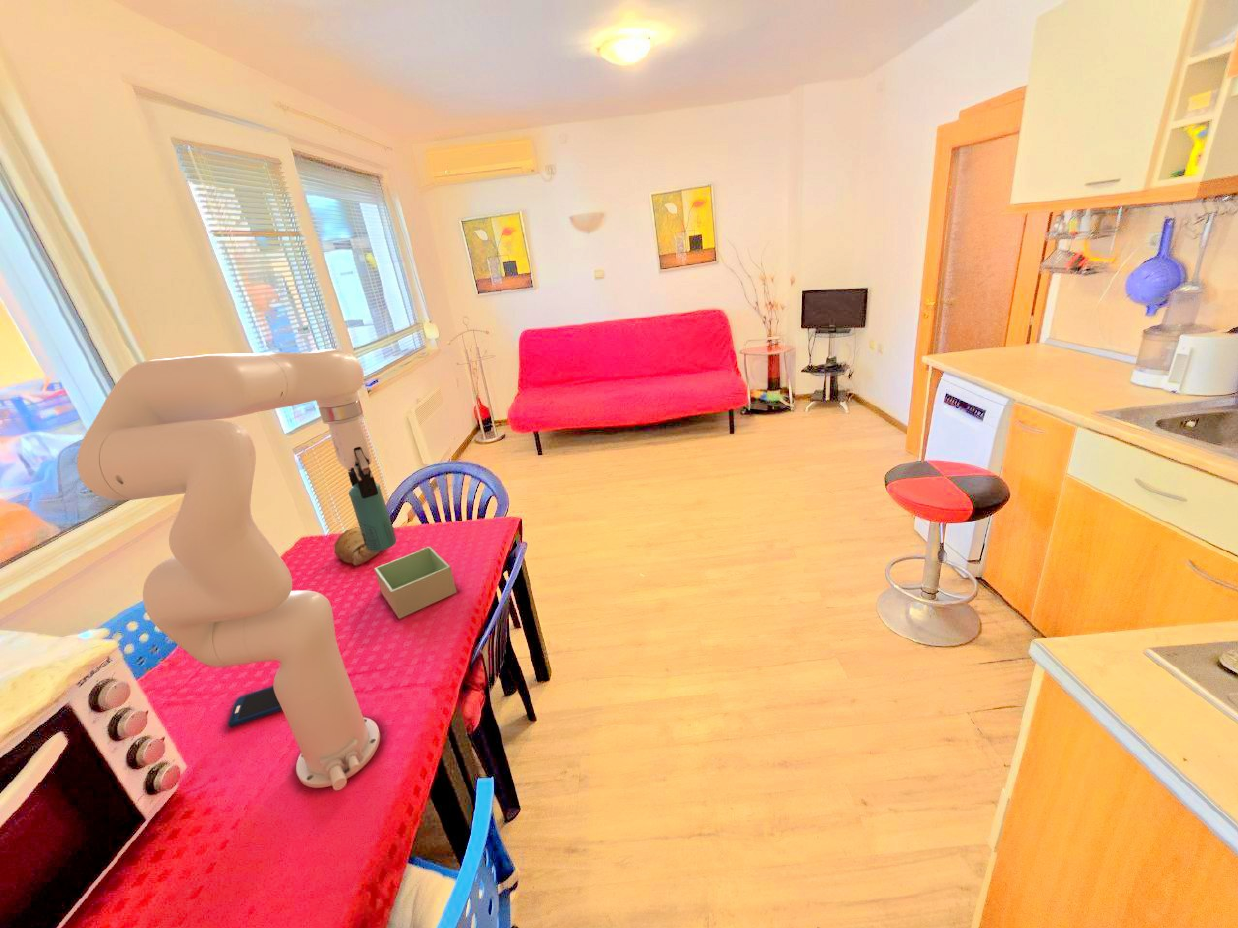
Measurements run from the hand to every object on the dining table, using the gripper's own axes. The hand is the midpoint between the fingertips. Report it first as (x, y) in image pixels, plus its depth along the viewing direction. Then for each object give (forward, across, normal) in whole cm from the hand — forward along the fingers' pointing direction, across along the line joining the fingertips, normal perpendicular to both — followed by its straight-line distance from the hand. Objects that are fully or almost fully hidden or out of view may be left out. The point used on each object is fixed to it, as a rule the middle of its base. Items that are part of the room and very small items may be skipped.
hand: (365, 490), depth 109 cm
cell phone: (+32, +10, -27) cm, 43 cm away
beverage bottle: (+15, 0, 0) cm, 15 cm away
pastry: (+32, -37, 0) cm, 50 cm away
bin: (+32, -4, +6) cm, 33 cm away
